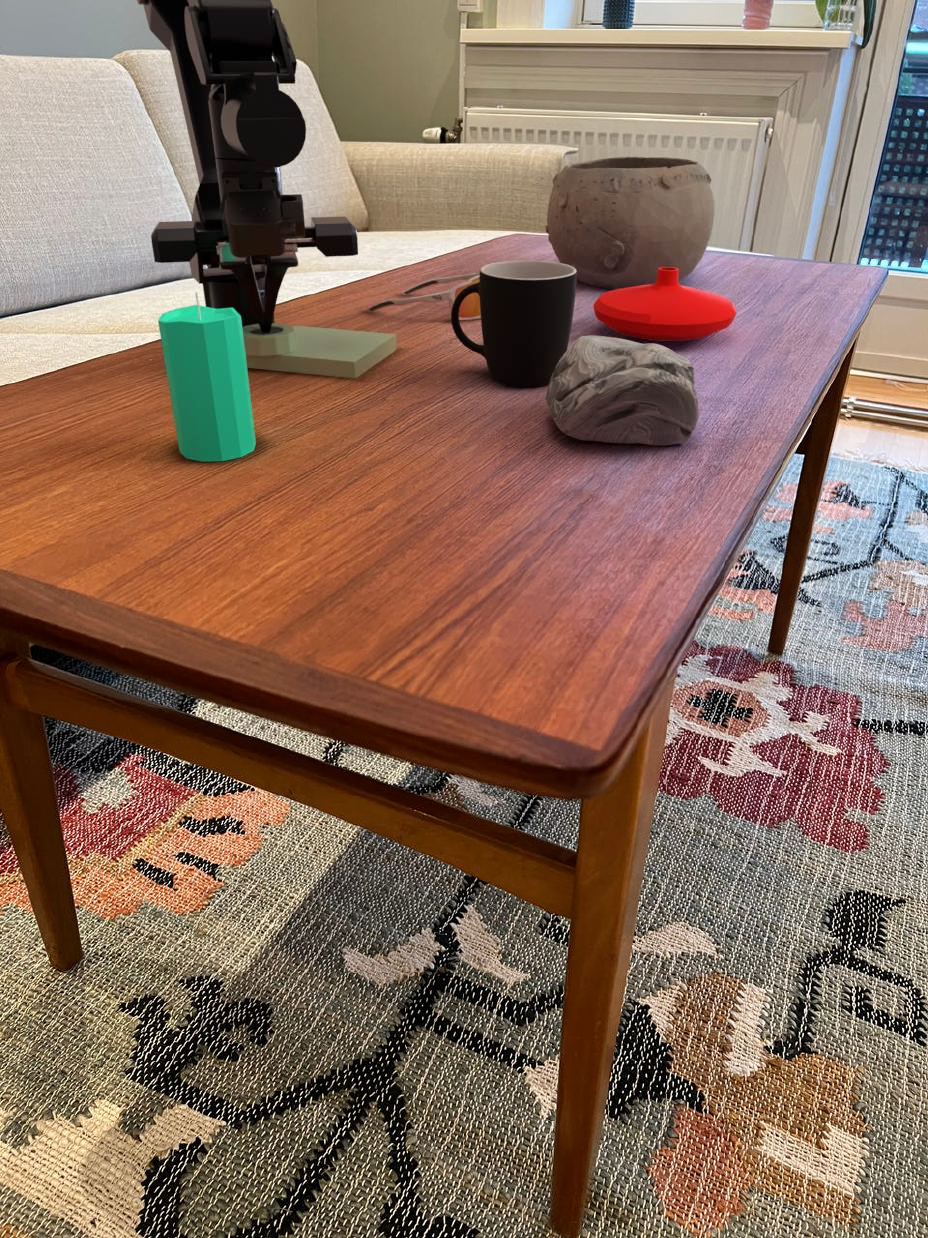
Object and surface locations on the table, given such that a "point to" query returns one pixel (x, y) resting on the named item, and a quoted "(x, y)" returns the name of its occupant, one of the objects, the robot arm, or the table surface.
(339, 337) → the khaki base plate
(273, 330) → the button
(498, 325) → the mug
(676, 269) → the red vase
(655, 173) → the bowl
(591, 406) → the decorative stone
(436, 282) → the sunglasses
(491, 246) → the table surface
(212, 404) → the candle
